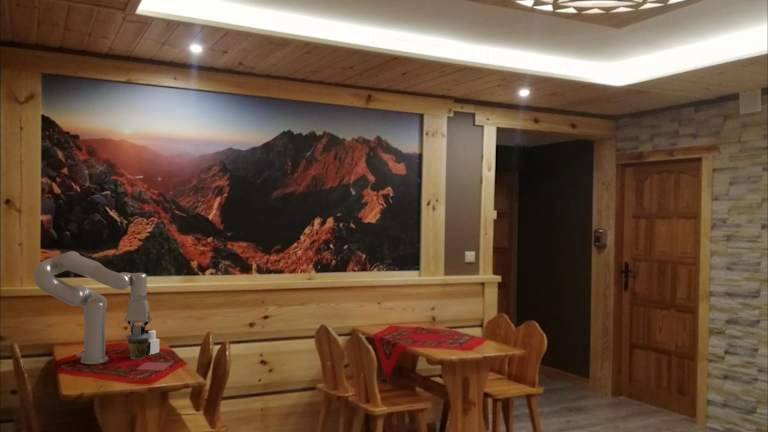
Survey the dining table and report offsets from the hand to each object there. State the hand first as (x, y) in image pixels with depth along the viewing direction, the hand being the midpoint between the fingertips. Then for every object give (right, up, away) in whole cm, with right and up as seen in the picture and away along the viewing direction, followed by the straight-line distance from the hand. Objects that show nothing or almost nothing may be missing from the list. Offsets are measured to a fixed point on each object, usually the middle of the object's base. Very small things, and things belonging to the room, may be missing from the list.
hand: (138, 333), depth 339 cm
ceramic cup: (0, -13, 0) cm, 13 cm away
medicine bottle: (+1, -13, +14) cm, 19 cm away
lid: (0, -2, 0) cm, 2 cm away
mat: (+12, -14, -13) cm, 22 cm away
